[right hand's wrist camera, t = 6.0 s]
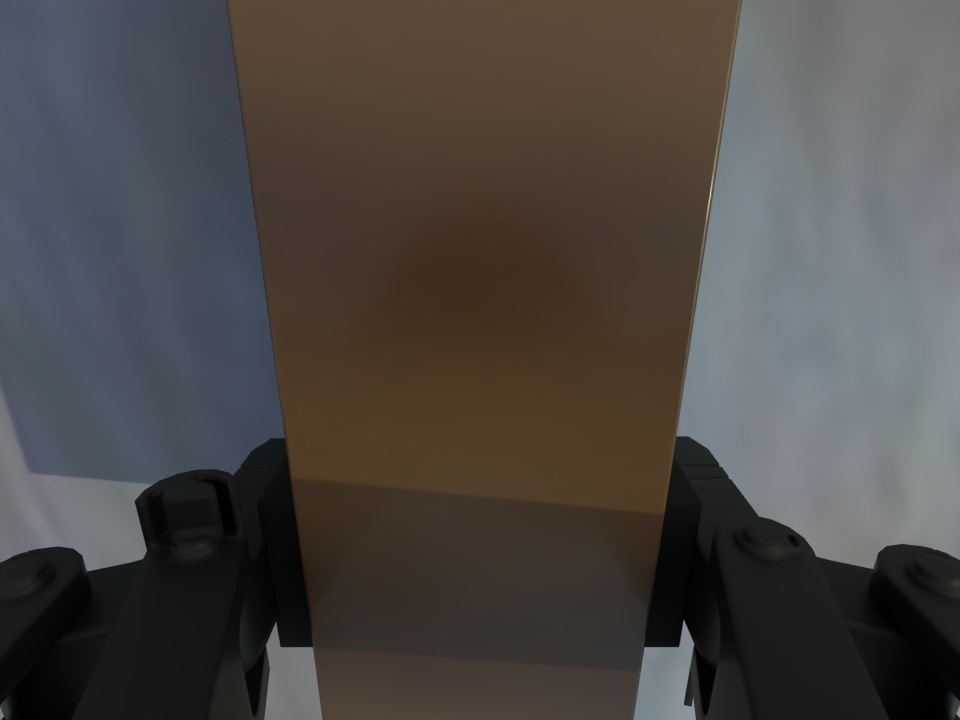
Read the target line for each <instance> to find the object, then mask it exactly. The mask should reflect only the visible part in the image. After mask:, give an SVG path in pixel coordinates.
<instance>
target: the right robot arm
mask: <svg viewBox="0 0 960 720" xmlns="http://www.w3.org/2000/svg"><path fill="white" fill-rule="evenodd" d="M135 504H136V508H137V512H138V516H139V520H140V524H141V528H142V532H143V536H144V540H145V544H146V548H147V552H146V554H145V556H144V559H142V560H138V561H135V562H131V563H127V564H122V565H117V566H112V567H107V568H102V569H98V570H93V571H88V572H87V570H86V567H85V563H84V560H83V557H82V555H81V554H80V553H78V552H77V551H76V550H74V549H72V548H65V547H50V548H42V549H36V550H31V551H28V552H26V553H25V552H24V553H21V554H18V555H15V556H13V557H11V558H10V559H8V560H5V561H3V562H1V563H0V708H1V710H2V712H3V715H4V717H3V718H2V720H264V716H265V707H266V698H267V689H268V680H269V671H270V667H269V661H268V654H267V649H266V644H267V641H268V639H269V637H270V634H271V632H272V630H273V627H274V625H275V623H276V622H277V628H278V634H279V640H280V646H281V647H313V643H312V636H311V628H310V621H309V613H308V606H307V598H306V591H305V583H304V576H303V568H302V561H301V553H300V546H299V538H298V531H297V524H296V516H295V509H294V501H293V494H292V486H291V479H290V471H289V464H288V456H287V449H286V441H285V438H271V439H270V440H268V441H267V442H265V443H264V444H262V445H261V446H259V447H257V448H256V449H254V450H253V451H252V452H251V453H250V454H249V456H248V457H247V458H246V460H245V461H244V462H243V464H242V465H241V469H238V470H237V472H236V473H235V474H234V476H232V475H231V474H230V473H229V472H224V471H220V470H215V469H209V470H194V471H189V472H184V473H179V474H176V475H174V476H171V477H168V478H166V479H163V480H161V481H159V482H157V483H155V484H154V485H152V486H150V487H149V488H147V489H146V490H144V491H143V492H142V493H141V495H140V496H139V497H138V498H137V499H136V500H135ZM683 620H684V621H685V623H686V625H687V628H688V630H689V632H690V635H691V637H692V639H693V642H694V649H693V654H692V660H691V666H690V671H689V677H688V683H687V688H686V694H685V701H684V705H687V706H691V707H692V701H693V697H694V706H695V714H696V720H960V718H959V717H958V715H957V711H958V709H959V706H960V560H959V559H956V558H954V557H952V556H950V555H949V554H947V553H944V552H941V551H939V550H933V549H932V548H928V547H923V546H915V545H907V544H899V545H892V546H886V547H885V548H884V549H883V550H881V551H880V552H879V553H878V555H877V559H876V562H875V565H874V569H870V568H865V567H860V566H855V565H850V564H845V563H841V562H836V561H831V560H827V559H823V558H819V557H816V555H815V553H814V551H813V549H812V548H811V547H810V545H809V544H808V543H807V541H806V540H805V539H804V538H803V537H802V536H801V535H799V534H798V533H796V532H795V531H794V530H792V529H791V528H790V527H787V526H785V525H783V524H781V523H778V522H776V521H774V520H771V519H767V518H763V517H759V516H758V515H757V513H756V512H755V511H754V509H753V508H752V507H751V505H750V504H749V503H748V501H747V500H746V499H745V497H744V496H743V495H742V493H741V492H740V491H739V489H738V488H737V487H736V486H735V484H734V483H733V482H732V480H731V479H729V478H728V475H727V474H726V472H725V471H724V470H723V468H722V467H719V463H718V462H717V460H716V459H715V458H714V456H713V455H712V454H711V452H710V451H709V450H708V449H707V448H705V447H704V446H702V445H701V444H699V443H698V442H696V441H695V440H693V439H691V438H690V437H676V441H675V448H674V454H673V461H672V468H671V474H670V481H669V488H668V494H667V501H666V507H665V514H664V521H663V527H662V534H661V540H660V547H659V554H658V560H657V567H656V573H655V580H654V587H653V593H652V600H651V607H650V613H649V620H648V626H647V633H646V640H645V646H644V647H679V644H680V638H681V632H682V626H683Z"/></svg>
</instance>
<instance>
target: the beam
mask: <svg viewBox="0 0 960 720" xmlns="http://www.w3.org/2000/svg"><path fill="white" fill-rule="evenodd" d="M741 5H742V0H227V8H228V15H229V23H230V30H231V38H232V45H233V53H234V60H235V68H236V75H237V83H238V90H239V98H240V105H241V113H242V120H243V127H244V135H245V142H246V150H247V157H248V165H249V172H250V180H251V187H252V195H253V202H254V210H255V217H256V225H257V232H258V240H259V247H260V255H261V262H262V269H263V277H264V284H265V292H266V299H267V307H268V314H269V322H270V329H271V337H272V344H273V352H274V359H275V367H276V374H277V382H278V389H279V396H280V404H281V411H282V419H283V426H284V434H285V441H286V449H287V456H288V464H289V471H290V479H291V486H292V494H293V501H294V509H295V516H296V524H297V531H298V538H299V546H300V553H301V561H302V568H303V576H304V583H305V591H306V598H307V606H308V613H309V621H310V628H311V636H312V643H313V651H314V658H315V665H316V673H317V680H318V688H319V695H320V703H321V710H322V718H323V720H633V719H634V712H635V706H636V699H637V692H638V686H639V679H640V673H641V666H642V659H643V653H644V646H645V640H646V633H647V626H648V620H649V613H650V607H651V600H652V593H653V587H654V580H655V573H656V567H657V560H658V554H659V547H660V540H661V534H662V527H663V521H664V514H665V507H666V501H667V494H668V488H669V481H670V474H671V468H672V461H673V454H674V448H675V441H676V435H677V428H678V421H679V415H680V408H681V402H682V395H683V388H684V382H685V375H686V369H687V362H688V355H689V349H690V342H691V336H692V329H693V322H694V316H695V309H696V302H697V296H698V289H699V283H700V276H701V269H702V263H703V256H704V250H705V243H706V236H707V230H708V223H709V217H710V210H711V203H712V197H713V190H714V184H715V177H716V170H717V164H718V157H719V150H720V144H721V137H722V131H723V124H724V117H725V111H726V104H727V98H728V91H729V84H730V78H731V71H732V65H733V58H734V51H735V45H736V38H737V32H738V25H739V18H740V12H741Z"/></svg>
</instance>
